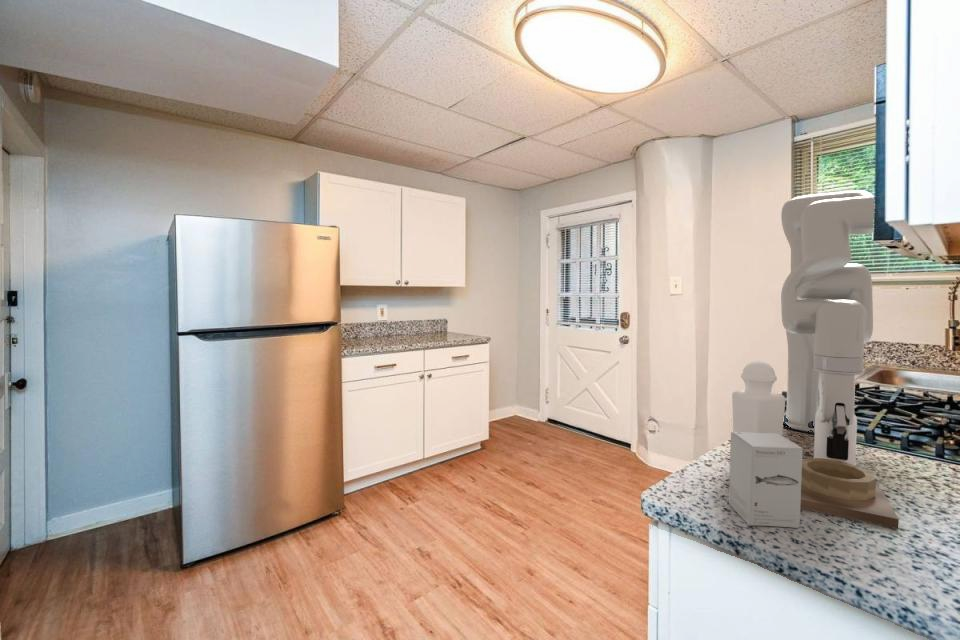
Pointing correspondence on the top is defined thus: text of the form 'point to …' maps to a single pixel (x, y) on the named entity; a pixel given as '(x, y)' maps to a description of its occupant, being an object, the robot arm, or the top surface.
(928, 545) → the top surface
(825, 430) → the can
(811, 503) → the mount board
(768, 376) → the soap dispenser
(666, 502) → the top surface
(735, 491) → the supplement box
